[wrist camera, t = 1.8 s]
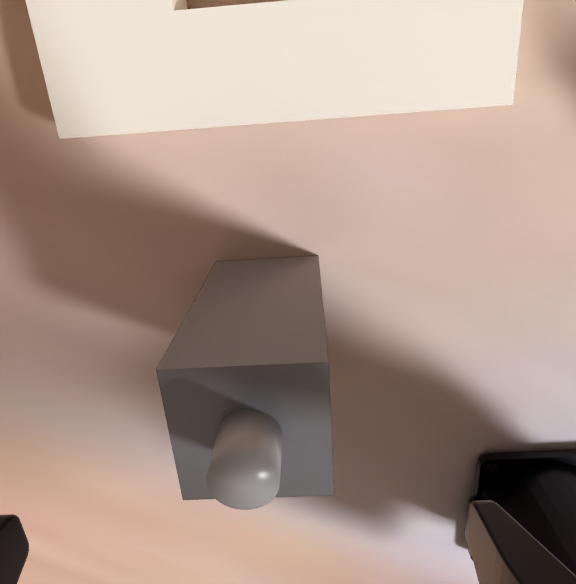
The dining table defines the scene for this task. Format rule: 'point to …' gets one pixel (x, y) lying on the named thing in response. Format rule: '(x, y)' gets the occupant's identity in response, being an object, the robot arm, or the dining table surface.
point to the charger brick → (251, 385)
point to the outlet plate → (268, 60)
